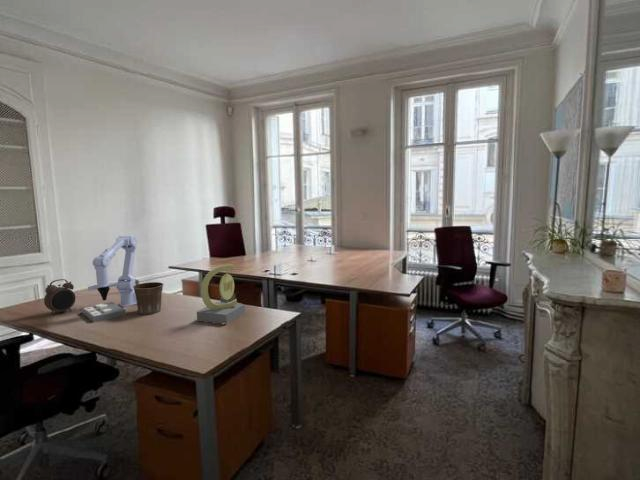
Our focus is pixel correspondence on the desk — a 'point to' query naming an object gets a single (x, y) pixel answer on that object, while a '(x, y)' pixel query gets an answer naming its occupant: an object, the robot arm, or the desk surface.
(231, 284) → the trophy
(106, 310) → the button
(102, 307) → the button
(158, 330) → the desk surface
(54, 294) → the alarm clock
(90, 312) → the button panel
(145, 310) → the plant pot
